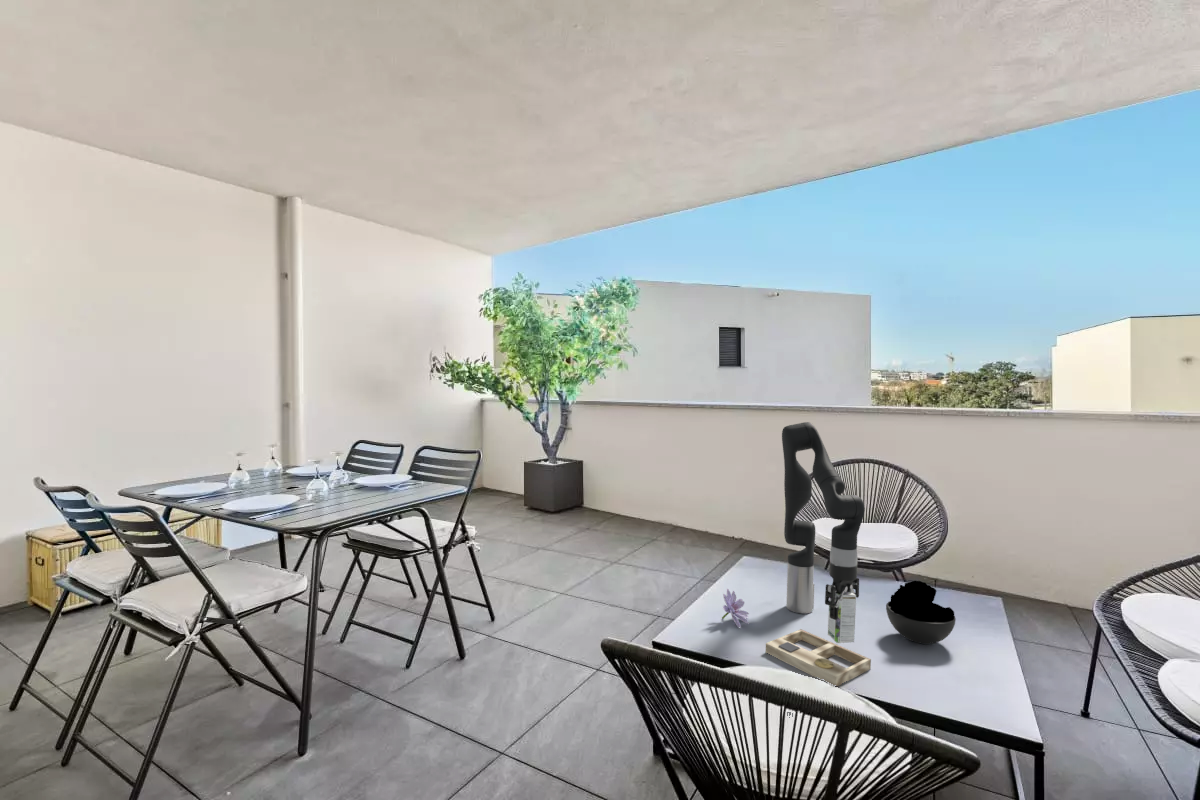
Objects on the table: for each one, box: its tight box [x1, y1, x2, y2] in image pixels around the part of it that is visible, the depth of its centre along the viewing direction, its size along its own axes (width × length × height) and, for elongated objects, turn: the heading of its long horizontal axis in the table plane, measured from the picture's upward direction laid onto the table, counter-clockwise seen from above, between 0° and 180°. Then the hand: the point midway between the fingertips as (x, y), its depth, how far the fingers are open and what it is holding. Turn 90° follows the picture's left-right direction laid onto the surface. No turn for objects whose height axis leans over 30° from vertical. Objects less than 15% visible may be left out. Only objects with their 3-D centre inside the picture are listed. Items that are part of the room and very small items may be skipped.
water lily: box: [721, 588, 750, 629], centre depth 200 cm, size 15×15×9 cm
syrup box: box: [827, 592, 857, 644], centre depth 168 cm, size 6×6×14 cm
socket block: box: [765, 628, 872, 687], centre depth 172 cm, size 18×24×3 cm
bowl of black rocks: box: [885, 580, 957, 645], centre depth 186 cm, size 20×20×19 cm
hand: (841, 615), depth 168 cm, fingers closed on syrup box, 8 cm apart
